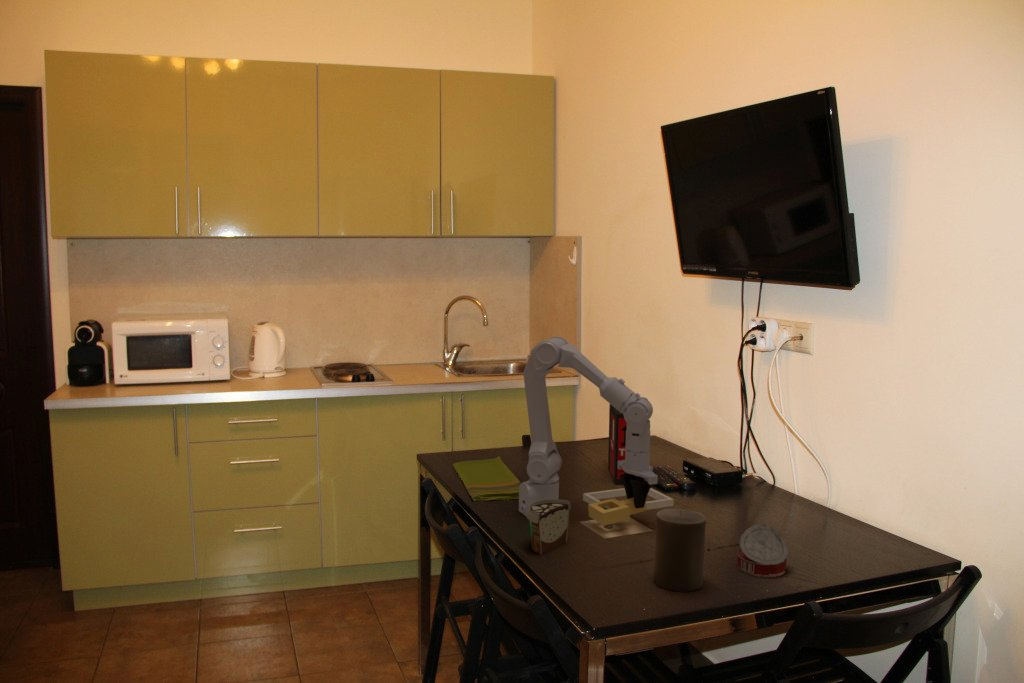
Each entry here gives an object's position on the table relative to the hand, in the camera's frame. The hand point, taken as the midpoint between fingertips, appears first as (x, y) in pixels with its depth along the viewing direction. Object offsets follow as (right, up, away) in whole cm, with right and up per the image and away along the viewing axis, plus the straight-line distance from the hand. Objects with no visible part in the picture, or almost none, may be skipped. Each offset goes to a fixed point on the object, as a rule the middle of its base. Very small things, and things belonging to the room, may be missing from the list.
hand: (635, 505), depth 198 cm
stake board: (-5, -5, -2) cm, 8 cm away
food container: (-23, -7, -14) cm, 27 cm away
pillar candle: (+4, -9, -31) cm, 33 cm away
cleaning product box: (+4, 0, +42) cm, 43 cm away
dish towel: (-36, -1, +37) cm, 51 cm away
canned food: (+23, -9, -24) cm, 34 cm away
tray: (0, -3, +16) cm, 16 cm away
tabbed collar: (-4, -2, -2) cm, 5 cm away
